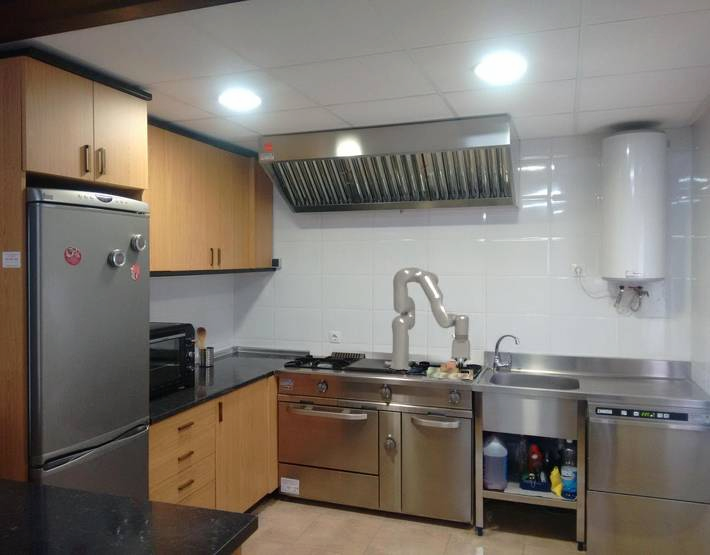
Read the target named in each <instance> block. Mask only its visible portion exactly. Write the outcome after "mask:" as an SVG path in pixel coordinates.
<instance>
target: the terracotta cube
mask: <svg viewBox="0 0 710 555" xmlns="http://www.w3.org/2000/svg"><path fill="white" fill-rule="evenodd" d="M446 364H447V368H456V365H457V361H456V360H446Z"/></svg>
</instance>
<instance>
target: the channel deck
mask: <svg viewBox="0 0 710 555" xmlns="http://www.w3.org/2000/svg"><path fill="white" fill-rule="evenodd" d="M462 371H469V374H468V373H460V372H461V368H460V370H459V369H458V364H456V368H447V363H441V364H440V367H433V366H429V367H428V368H427V371H426V378H431V379H432V378H433V379H434V378H435V379H437V378H438V379H448V380H449V379H450V380H461V379H469V380H468V381H473V380H474V370H473V369H466V368H463V369H462Z"/></svg>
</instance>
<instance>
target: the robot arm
mask: <svg viewBox="0 0 710 555" xmlns="http://www.w3.org/2000/svg"><path fill="white" fill-rule="evenodd" d="M408 283H417V284H419V285H420V287H421V289H422V291H423V292H424V294H425V296H426V298H427V299H428V302H429V304H430V308H431V313H432V316H433V317H434V319H435V321H436V322H437V324H438V326H439V327H440V328H442V329H449V328H452V327H453V328H454V334H452V335H451V338H453V340H452V345H451V356H450V359H451V360H452V361H456V364H457V365H458V369H459V370H460V369H461V371H462V369H464V363H466V362H467V361H471V341H470V339H469V328H470V326H469V324H470V317H469V316H468V315H465V314H457V313H456V314H455V313H447V311H446V309H445V307H444V303H443V300H444V294H443V293H442V290H441V289H440V287H439V286H438V285H439V284H438V283H439V278H438V276H437V274H435V273H434V272H430V271H428V270H424V269H422V268H418V267H405V268H401V269H400V270H398V271H397V272H396V273H395V274H394V276H393V281H392V286H393V310H394V311H395V312H396V313H397V314H399V315H398V316H396V317H394V318H393V319H392V322H391V330H392V356H391V357H392V358H391V359H392V360H390V361H388V360H384V365H386V366H389V369H390V368H393V369H394V368H395V369H405V370H408V371H411V369H412V367H411V366H409V358H410V357H409V353H410V352H409V350H410V335H409V331H410V330H412V329H413V328H414V327H415V325H416V304H415V301H414V299H413V298H412V297H410V296H409V289H408ZM460 360H461V361H460Z"/></svg>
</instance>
